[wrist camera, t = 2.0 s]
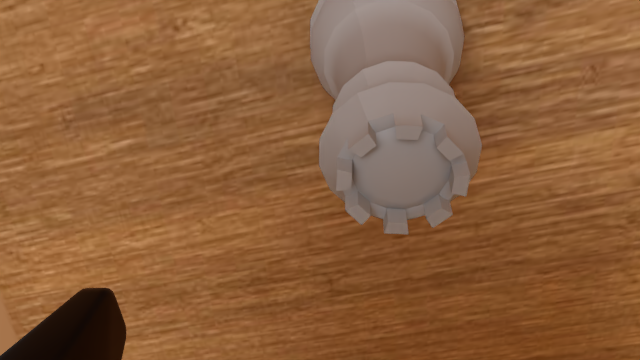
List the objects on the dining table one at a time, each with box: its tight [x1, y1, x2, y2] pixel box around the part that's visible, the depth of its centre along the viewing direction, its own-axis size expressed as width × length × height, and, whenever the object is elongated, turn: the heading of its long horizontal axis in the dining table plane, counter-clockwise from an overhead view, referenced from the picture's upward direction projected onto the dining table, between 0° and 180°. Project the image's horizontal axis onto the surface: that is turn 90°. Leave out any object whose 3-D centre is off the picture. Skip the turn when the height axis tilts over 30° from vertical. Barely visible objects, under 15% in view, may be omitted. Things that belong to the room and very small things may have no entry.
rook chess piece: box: [310, 0, 482, 234], centre depth 14 cm, size 4×4×8 cm
